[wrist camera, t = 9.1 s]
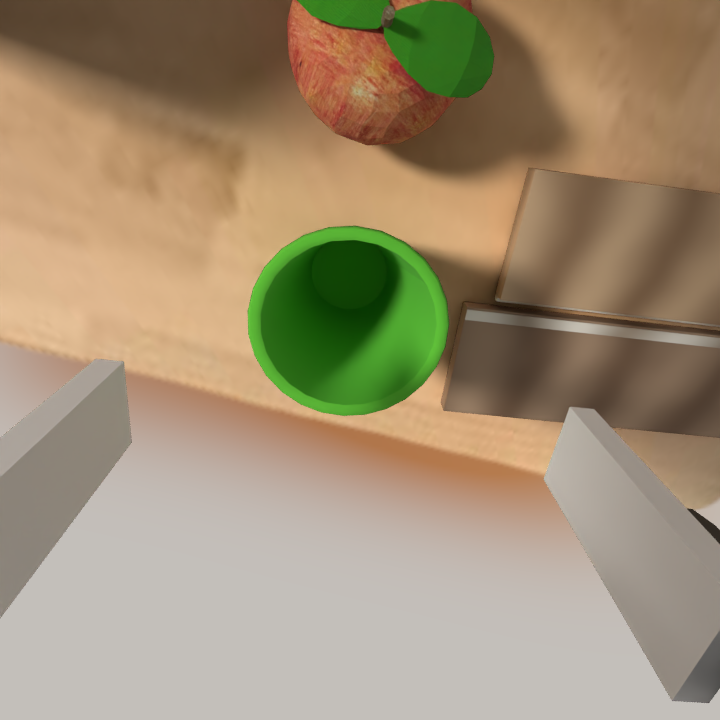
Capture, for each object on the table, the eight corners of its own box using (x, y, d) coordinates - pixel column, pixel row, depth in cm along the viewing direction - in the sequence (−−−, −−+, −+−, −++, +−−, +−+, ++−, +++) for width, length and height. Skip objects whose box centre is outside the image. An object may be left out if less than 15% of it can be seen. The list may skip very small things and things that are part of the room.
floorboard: (440, 402, 35) (443, 411, 34) (463, 301, 32) (467, 307, 30) (714, 429, 36) (726, 439, 35) (763, 335, 33) (778, 342, 32)
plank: (494, 298, 31) (499, 304, 30) (528, 167, 28) (535, 169, 27) (741, 326, 33) (754, 333, 32) (805, 205, 29) (823, 208, 28)
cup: (253, 247, 30) (204, 297, 20) (374, 169, 28) (388, 182, 18) (327, 356, 33) (317, 446, 23) (440, 293, 31) (482, 361, 21)
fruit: (392, 180, 28) (412, 196, 19) (258, 70, 26) (208, 28, 17) (489, 46, 25) (566, -10, 16) (350, -92, 23) (350, -249, 14)
